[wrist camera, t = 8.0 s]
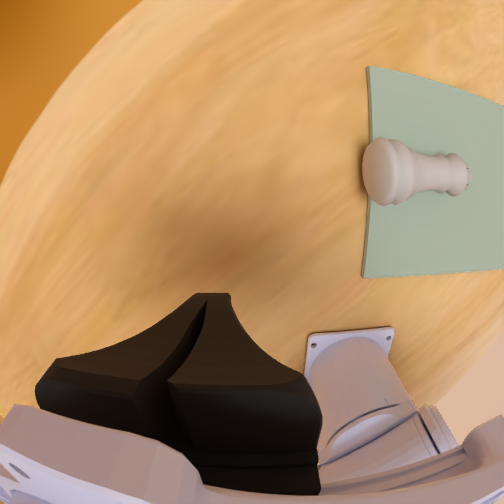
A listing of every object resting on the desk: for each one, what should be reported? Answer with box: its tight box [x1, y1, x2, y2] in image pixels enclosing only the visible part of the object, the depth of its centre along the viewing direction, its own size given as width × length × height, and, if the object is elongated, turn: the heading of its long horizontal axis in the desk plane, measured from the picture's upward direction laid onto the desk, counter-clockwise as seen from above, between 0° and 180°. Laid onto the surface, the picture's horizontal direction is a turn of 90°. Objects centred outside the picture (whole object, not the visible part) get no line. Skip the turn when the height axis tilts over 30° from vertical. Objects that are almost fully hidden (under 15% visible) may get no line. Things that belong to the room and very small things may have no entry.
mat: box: [361, 66, 504, 278], centre depth 19 cm, size 16×17×1 cm
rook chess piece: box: [362, 137, 472, 207], centre depth 17 cm, size 4×4×8 cm
